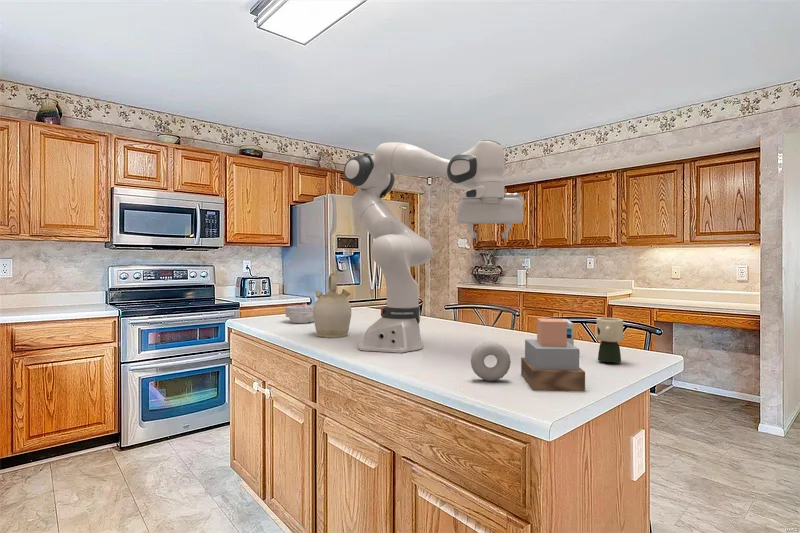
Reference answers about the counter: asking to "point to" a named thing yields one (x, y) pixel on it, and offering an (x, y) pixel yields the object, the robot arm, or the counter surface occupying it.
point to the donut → (492, 372)
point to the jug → (332, 311)
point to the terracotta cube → (552, 332)
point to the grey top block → (551, 356)
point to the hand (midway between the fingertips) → (489, 238)
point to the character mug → (609, 339)
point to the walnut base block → (553, 378)
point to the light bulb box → (569, 331)
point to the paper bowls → (300, 313)
